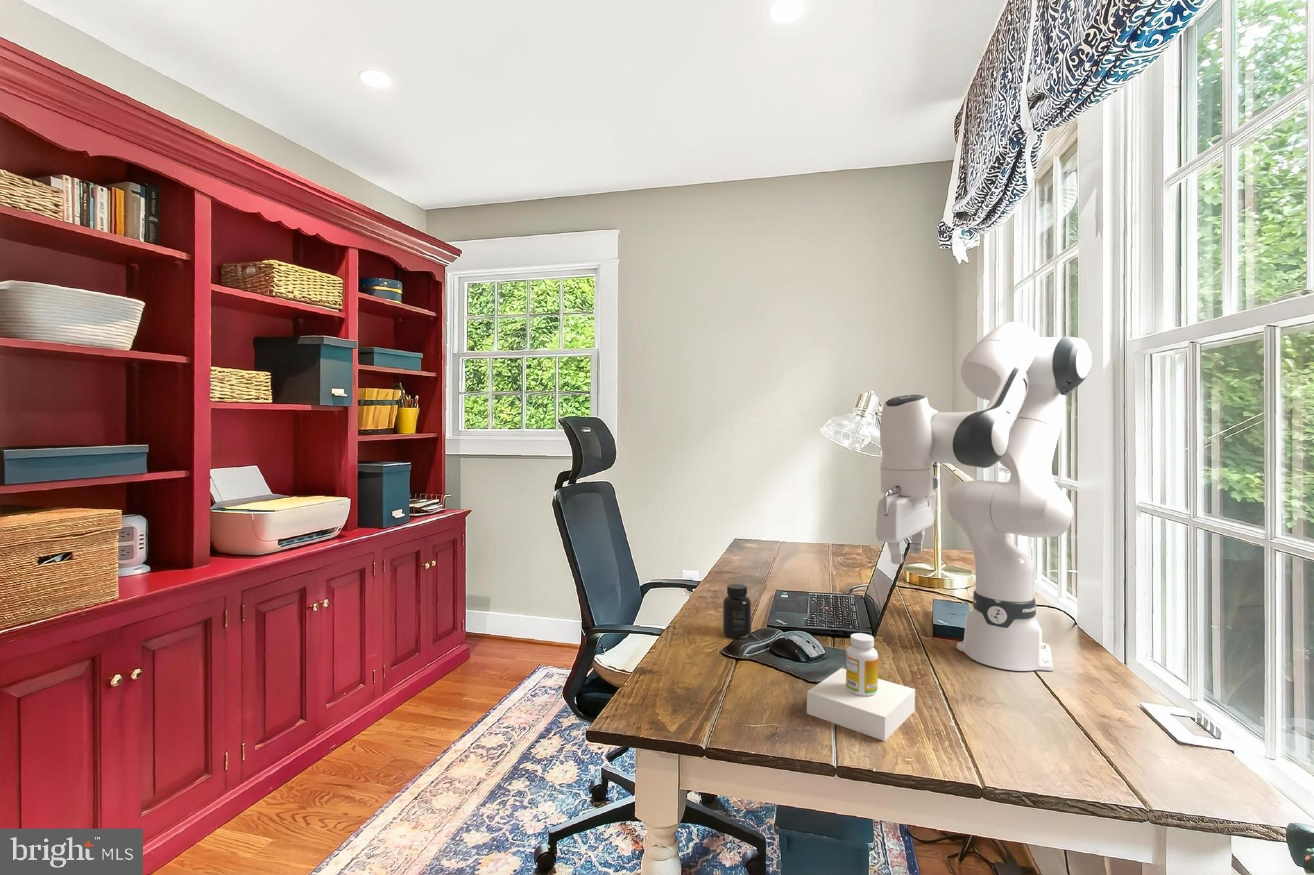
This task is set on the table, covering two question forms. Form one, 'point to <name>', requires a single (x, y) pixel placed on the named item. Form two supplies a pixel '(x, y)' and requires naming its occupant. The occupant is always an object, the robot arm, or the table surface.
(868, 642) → the supplement bottle
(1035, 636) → the robot arm
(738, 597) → the supplement bottle
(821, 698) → the plinth
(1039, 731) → the table surface
